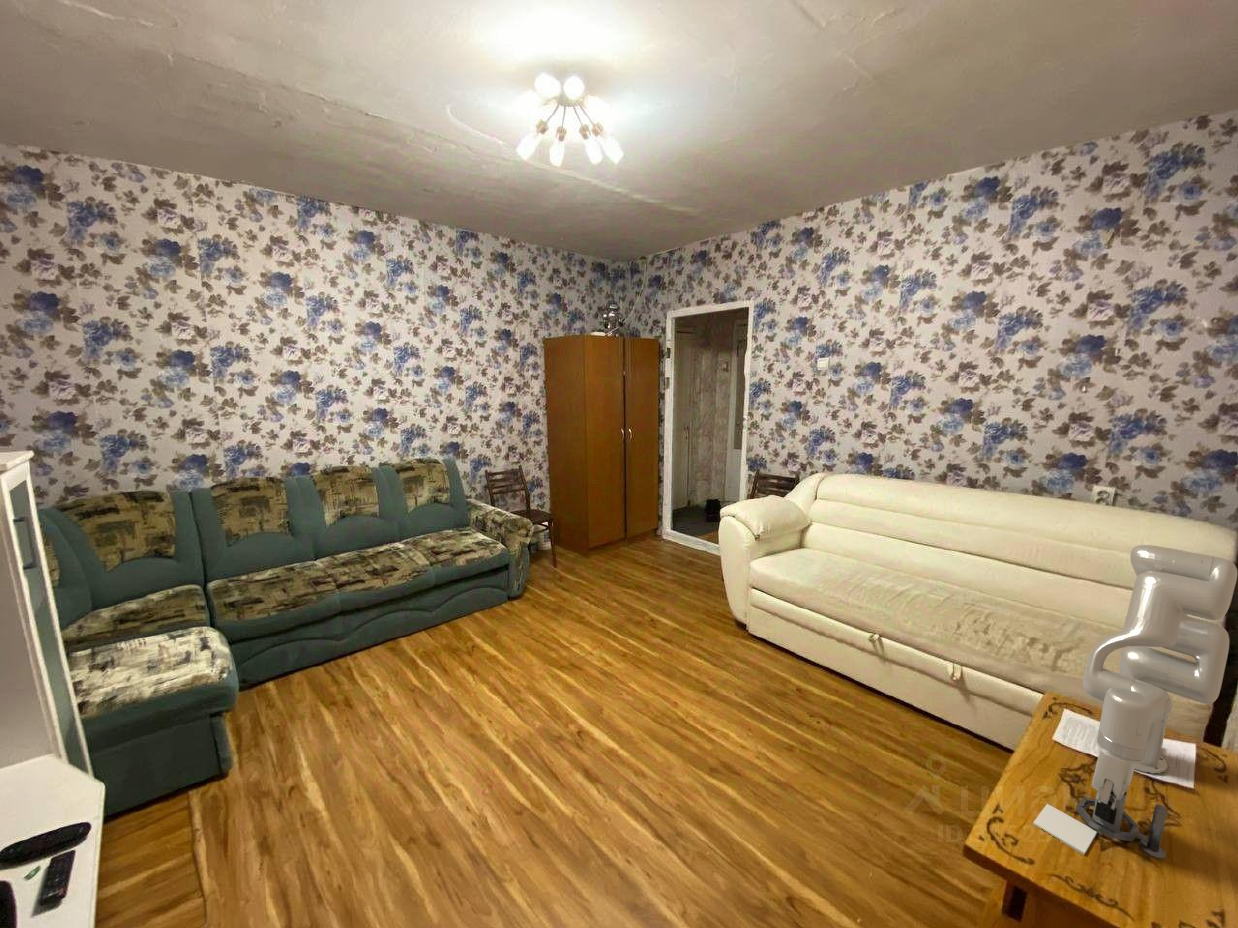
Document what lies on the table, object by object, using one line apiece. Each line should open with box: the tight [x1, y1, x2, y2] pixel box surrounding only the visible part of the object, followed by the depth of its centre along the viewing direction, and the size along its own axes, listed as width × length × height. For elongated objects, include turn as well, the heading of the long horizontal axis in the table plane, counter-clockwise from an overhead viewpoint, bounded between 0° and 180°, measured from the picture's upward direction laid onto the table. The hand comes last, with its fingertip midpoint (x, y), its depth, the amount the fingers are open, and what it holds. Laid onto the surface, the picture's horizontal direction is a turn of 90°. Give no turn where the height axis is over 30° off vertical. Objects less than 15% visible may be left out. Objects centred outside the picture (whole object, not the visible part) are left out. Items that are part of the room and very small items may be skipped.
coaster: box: [1032, 803, 1098, 856], centre depth 113 cm, size 9×9×1 cm
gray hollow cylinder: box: [1091, 788, 1128, 831], centre depth 113 cm, size 4×4×10 cm
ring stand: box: [1076, 796, 1168, 860], centre depth 111 cm, size 10×14×11 cm
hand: (1107, 812), depth 114 cm, fingers closed on gray hollow cylinder, 4 cm apart
